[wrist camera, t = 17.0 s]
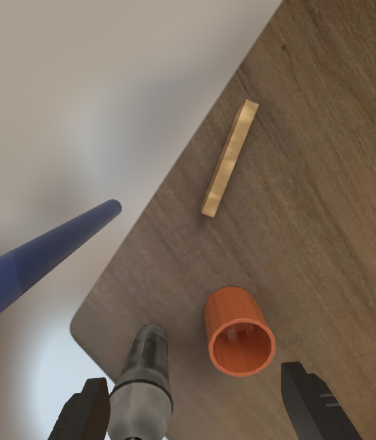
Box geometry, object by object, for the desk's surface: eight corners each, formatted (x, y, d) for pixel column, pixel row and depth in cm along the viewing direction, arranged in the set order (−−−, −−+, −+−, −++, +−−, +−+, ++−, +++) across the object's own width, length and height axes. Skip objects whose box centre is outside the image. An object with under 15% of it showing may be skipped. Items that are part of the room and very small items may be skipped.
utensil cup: (205, 336, 40) (210, 379, 32) (202, 288, 38) (207, 321, 30) (257, 332, 40) (275, 373, 32) (256, 284, 38) (275, 316, 30)
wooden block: (201, 213, 32) (246, 99, 29) (199, 208, 35) (239, 105, 33) (213, 217, 32) (259, 104, 29) (210, 212, 36) (251, 110, 33)
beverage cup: (184, 328, 39) (185, 491, 20) (163, 364, 41) (145, 551, 21) (140, 308, 39) (97, 459, 19) (120, 346, 40) (60, 524, 20)
